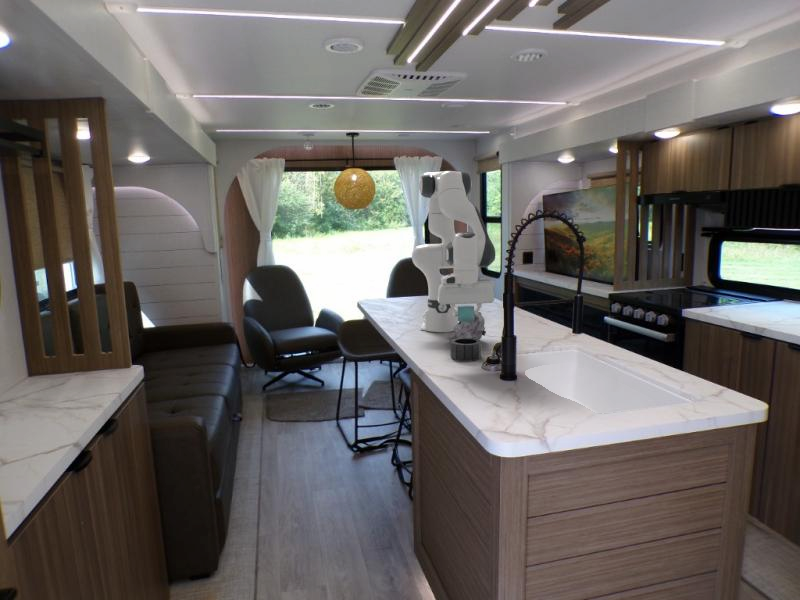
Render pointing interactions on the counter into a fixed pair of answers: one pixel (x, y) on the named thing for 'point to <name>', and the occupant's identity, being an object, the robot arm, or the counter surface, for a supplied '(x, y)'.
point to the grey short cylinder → (465, 349)
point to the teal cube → (465, 313)
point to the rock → (470, 328)
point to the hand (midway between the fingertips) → (465, 315)
